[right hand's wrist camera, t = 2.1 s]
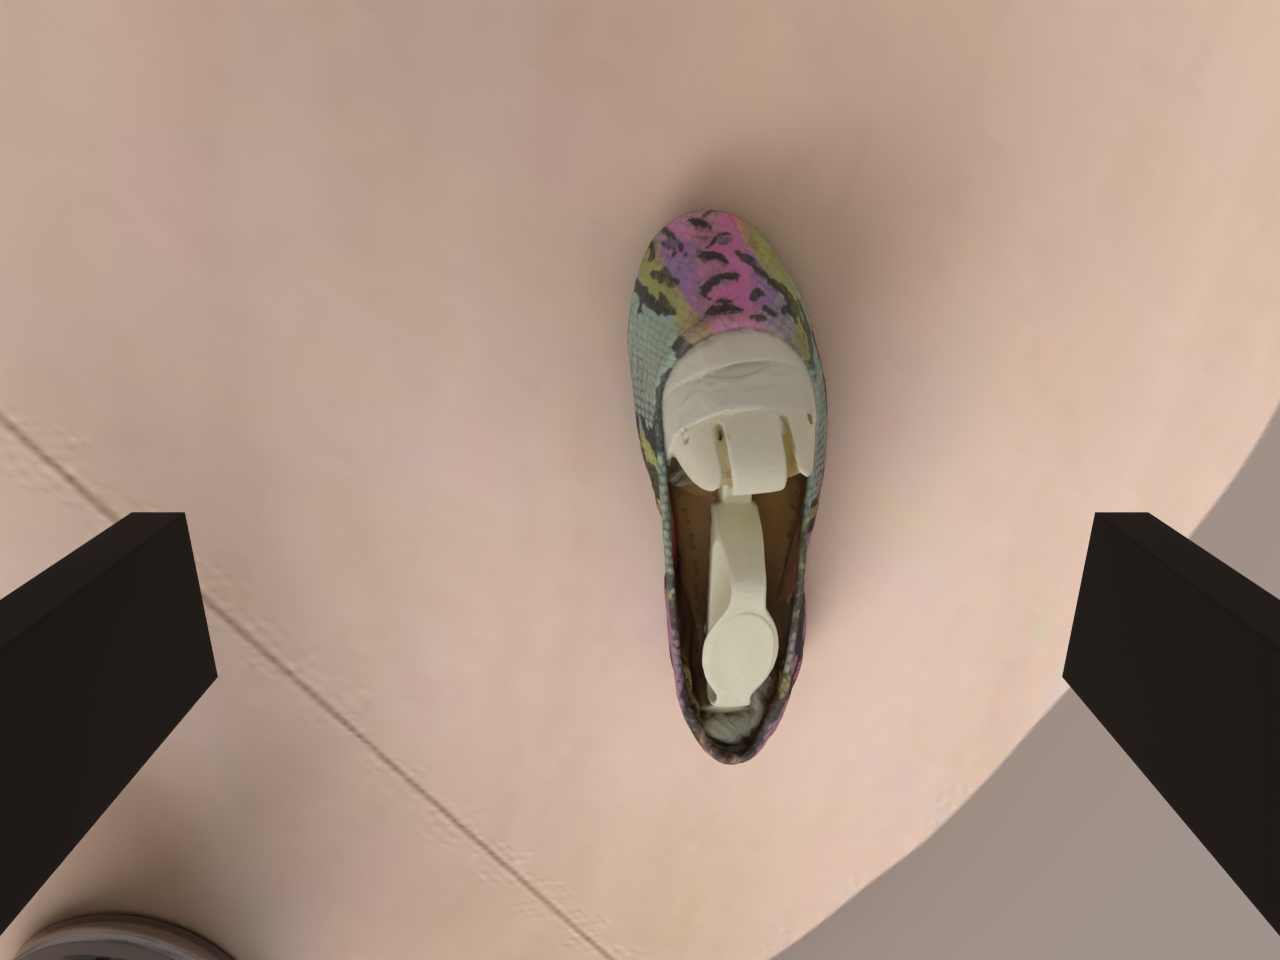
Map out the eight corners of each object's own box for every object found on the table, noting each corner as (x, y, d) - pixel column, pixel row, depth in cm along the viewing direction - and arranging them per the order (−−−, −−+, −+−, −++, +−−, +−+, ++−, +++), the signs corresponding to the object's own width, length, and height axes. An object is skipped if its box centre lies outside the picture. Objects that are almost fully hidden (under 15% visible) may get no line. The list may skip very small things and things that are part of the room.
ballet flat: (819, 201, 35) (873, 211, 27) (814, 691, 44) (853, 809, 36) (620, 214, 35) (614, 228, 27) (653, 699, 44) (656, 819, 36)
